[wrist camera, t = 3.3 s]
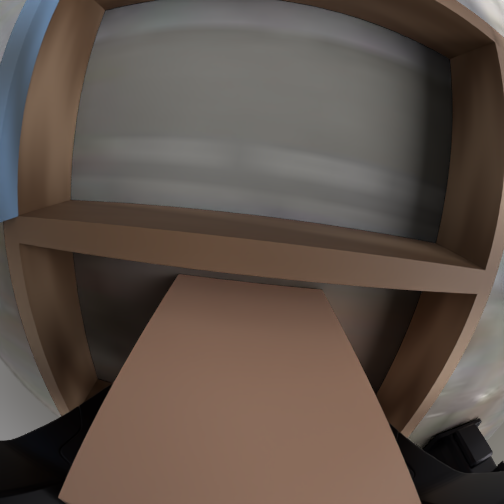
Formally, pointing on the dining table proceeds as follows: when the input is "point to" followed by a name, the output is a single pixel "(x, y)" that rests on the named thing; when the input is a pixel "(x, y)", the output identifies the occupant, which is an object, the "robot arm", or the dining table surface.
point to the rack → (243, 225)
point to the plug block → (240, 408)
